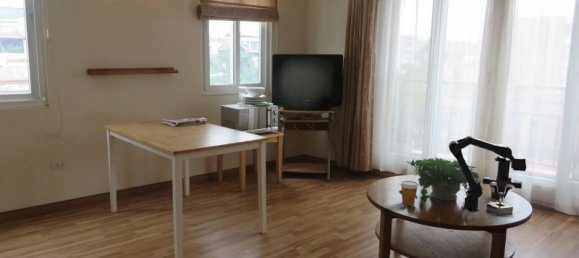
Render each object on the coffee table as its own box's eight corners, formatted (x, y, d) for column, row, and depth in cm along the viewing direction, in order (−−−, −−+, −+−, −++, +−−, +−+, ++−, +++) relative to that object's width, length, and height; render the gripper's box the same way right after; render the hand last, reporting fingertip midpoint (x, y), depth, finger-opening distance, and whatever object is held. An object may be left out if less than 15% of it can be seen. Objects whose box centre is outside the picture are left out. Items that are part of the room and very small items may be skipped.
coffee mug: (506, 200, 272) (508, 184, 271) (490, 199, 274) (492, 182, 272) (502, 195, 283) (503, 178, 282) (486, 193, 285) (488, 177, 283)
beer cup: (418, 202, 265) (419, 182, 263) (415, 207, 257) (416, 186, 255) (401, 200, 269) (402, 179, 267) (397, 204, 261) (399, 183, 259)
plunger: (499, 207, 250) (500, 194, 249) (495, 205, 253) (496, 192, 252) (504, 206, 251) (505, 193, 250) (500, 204, 254) (501, 192, 252)
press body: (498, 215, 247) (499, 208, 246) (482, 208, 258) (483, 201, 257) (512, 214, 250) (513, 207, 249) (496, 207, 261) (496, 200, 260)
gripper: (483, 170, 245) (480, 199, 248) (523, 175, 237) (519, 205, 240) (484, 166, 255) (482, 193, 258) (523, 170, 247) (520, 199, 250)
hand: (500, 198), depth 251 cm, fingers closed on plunger, 3 cm apart
